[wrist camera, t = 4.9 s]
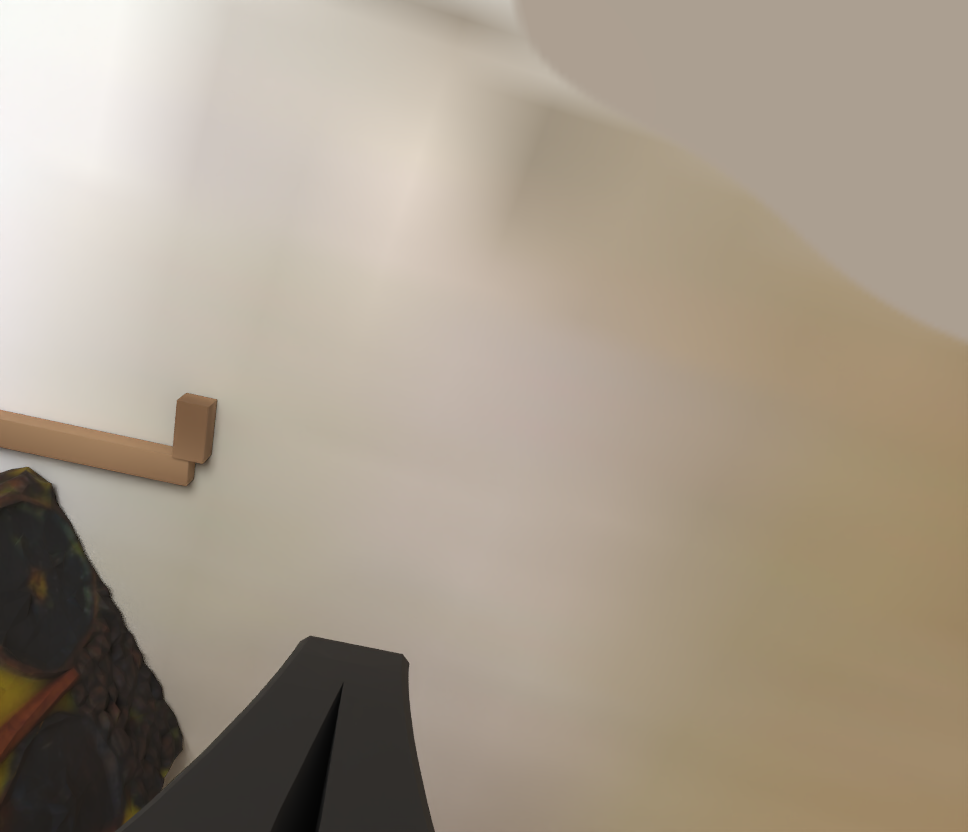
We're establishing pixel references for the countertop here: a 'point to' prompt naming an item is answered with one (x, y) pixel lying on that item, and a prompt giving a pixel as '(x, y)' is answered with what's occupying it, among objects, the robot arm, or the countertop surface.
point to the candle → (69, 681)
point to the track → (120, 443)
